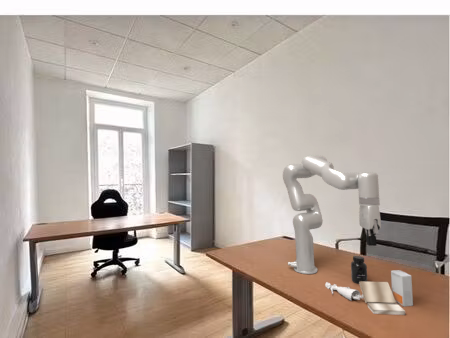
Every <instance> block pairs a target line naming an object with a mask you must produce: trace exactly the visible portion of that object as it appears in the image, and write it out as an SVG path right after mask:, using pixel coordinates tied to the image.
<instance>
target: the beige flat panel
mask: <svg viewBox="0 0 450 338" xmlns="http://www.w3.org/2000/svg"><path fill="white" fill-rule="evenodd" d="M358 285H359V287H360V291H361V293H362V294H363V297H364V298H363V300H364V303H365V304H368V303H386V304H397V302H396V301H395V299H394V296H393V294H392V288H391V287H390V284H389V282H388V281H367V282H364V281H360V282H359V284H358Z"/></svg>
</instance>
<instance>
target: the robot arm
mask: <svg viewBox="0 0 450 338" xmlns="http://www.w3.org/2000/svg"><path fill="white" fill-rule="evenodd" d="M315 175H317V176H319V177H320V178H322V180H323V181H324V182H325V184H327V185H329V186H331V187H333V188H335V189H338V190H342V191H345V190H346V191H347V190H358V206H359V212H358V213H359V215H358V216H359V217H358V218H359V219H358V220H359V226H360V227H361V228H363V229H364V231H365V239H366V245H367V246H369V247H371V246H372V247H375V246H377V235H378V234H379V231H380V230H381V228H382V222H381V221H382V220H381V213H380V211H381V210H380V205H381V204H380V190H379V189H380V188H379V175H378V174H377V172H340V171H338V170H335V169H334V164H333V163H332V162H330V161H328V159H327V158H326V157H325V156H323V155H319V154H317V155H316V154H315V155H314V154H312V155H311V154H309V155H306V156H304V157H303V158H302V160H301V163H291V164H288V165H286V166H285V167H284V168H283V171H282V180H283V183H284V185H285V188H286V190H287V194H288V199H289V202H290V205H291V208H292V210H293V211H295V212H301V213H297V214H295V216H293V218H292V225H293V230H294V236H295V237H294V238H295V239H294V241H295V255H296V256H295V258H296V259H295V260H294V261H287V266H290V267H291V268H293V270H294V271H295V272H296V273H298V274H303V275H313V274H316V273H317V272H318V267H316V266H315V252H314V251H315V250H314V238H313V235H312V233H311V230H315V229H319V228H320V227H322V226H323V221H324V220H323V215H322V212H321V209H320V205H319V202H318V200H317V198H316V196H314V195H313V194H311V193H304V190H303V185H301V183H300V181H298V180H297V179H308V178H312V177H314V176H315ZM304 211H306V212H304Z"/></svg>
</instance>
